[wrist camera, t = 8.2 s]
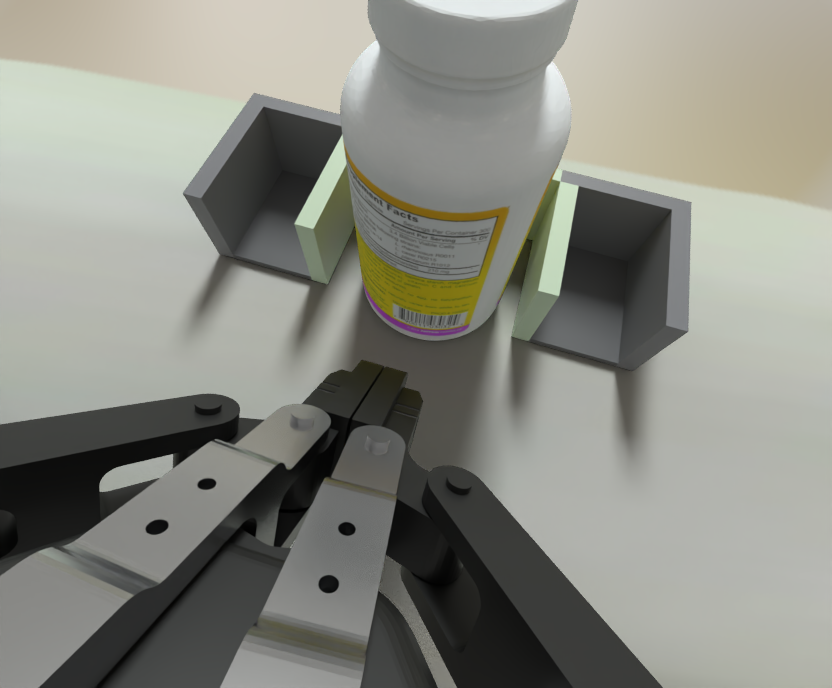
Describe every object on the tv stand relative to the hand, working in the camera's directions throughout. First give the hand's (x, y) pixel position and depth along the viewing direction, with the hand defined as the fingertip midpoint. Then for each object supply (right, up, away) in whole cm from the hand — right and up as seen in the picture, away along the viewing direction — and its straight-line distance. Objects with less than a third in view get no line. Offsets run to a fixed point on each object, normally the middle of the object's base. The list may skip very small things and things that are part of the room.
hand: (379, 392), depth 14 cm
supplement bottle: (+2, +4, +7) cm, 9 cm away
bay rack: (+2, +6, +8) cm, 10 cm away
